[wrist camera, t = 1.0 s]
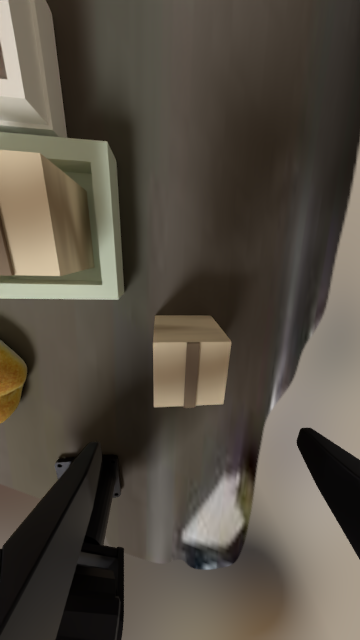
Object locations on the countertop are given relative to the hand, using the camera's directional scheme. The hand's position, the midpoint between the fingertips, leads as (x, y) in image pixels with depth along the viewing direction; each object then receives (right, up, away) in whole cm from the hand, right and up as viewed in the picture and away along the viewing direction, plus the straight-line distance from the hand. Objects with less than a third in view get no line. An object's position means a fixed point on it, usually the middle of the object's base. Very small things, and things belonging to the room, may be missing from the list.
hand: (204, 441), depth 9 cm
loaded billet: (-10, +12, +5) cm, 16 cm away
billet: (-1, +3, +10) cm, 10 cm away
